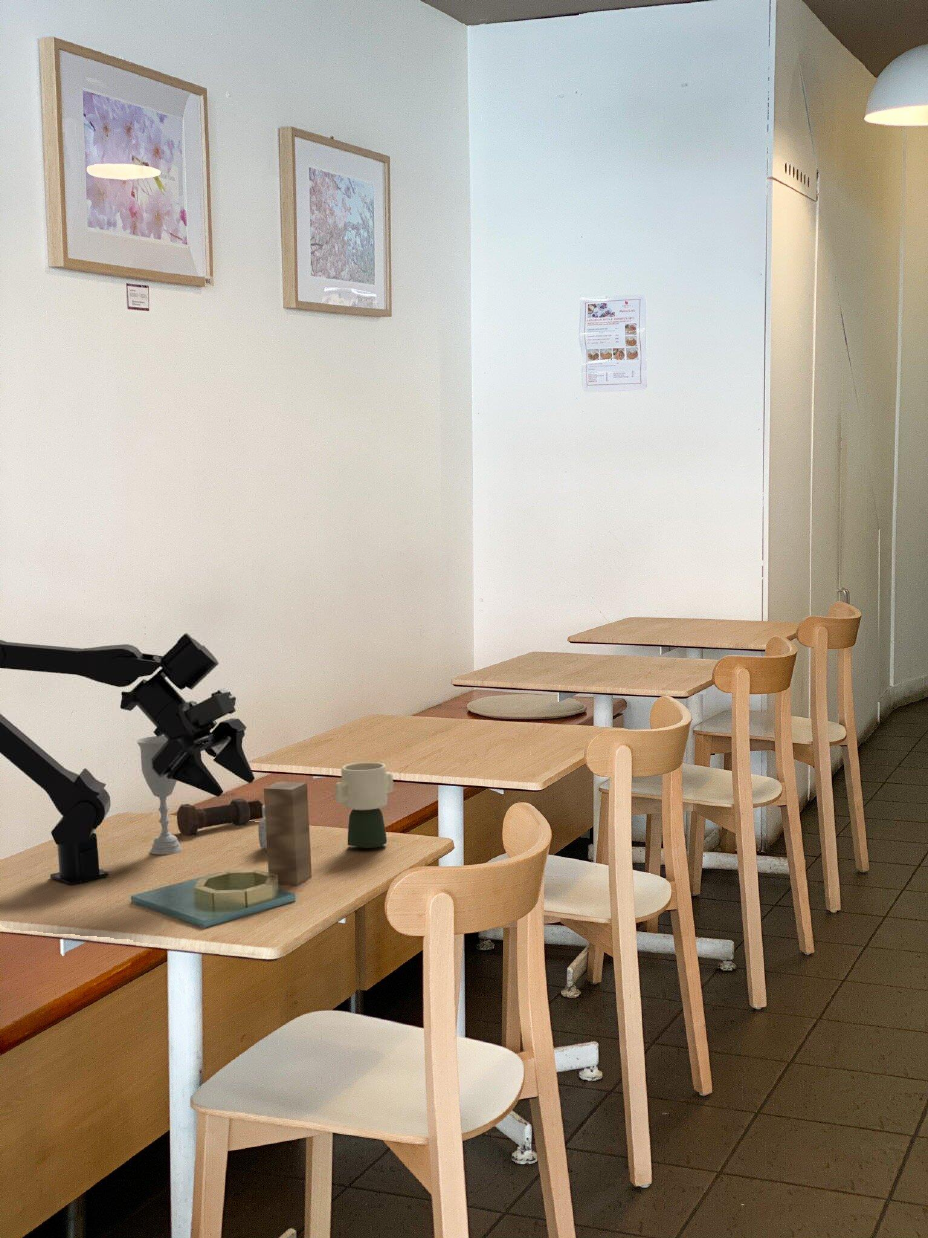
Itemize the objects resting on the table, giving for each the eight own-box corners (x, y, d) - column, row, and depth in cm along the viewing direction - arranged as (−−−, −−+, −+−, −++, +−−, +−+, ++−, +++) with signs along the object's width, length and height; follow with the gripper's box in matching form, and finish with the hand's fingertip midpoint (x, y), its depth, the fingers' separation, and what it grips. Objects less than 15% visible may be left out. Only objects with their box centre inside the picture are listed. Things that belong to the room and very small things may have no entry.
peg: (268, 883, 201) (263, 788, 200) (283, 874, 205) (278, 781, 204) (297, 885, 200) (292, 789, 198) (311, 876, 204) (306, 782, 202)
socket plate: (131, 902, 194) (129, 881, 194) (220, 878, 205) (219, 858, 204) (204, 928, 181) (202, 905, 181) (295, 900, 192) (294, 879, 192)
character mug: (381, 836, 225) (378, 758, 224) (408, 844, 220) (404, 763, 219) (326, 850, 219) (321, 768, 217) (352, 858, 213) (347, 774, 212)
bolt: (265, 831, 241) (185, 844, 232) (252, 812, 244) (173, 825, 235) (272, 805, 238) (192, 817, 229) (259, 786, 241) (180, 798, 232)
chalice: (197, 847, 223) (191, 737, 222) (167, 858, 218) (160, 744, 216) (164, 843, 227) (157, 734, 226) (134, 853, 222) (126, 741, 220)
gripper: (164, 683, 196) (237, 763, 193) (232, 665, 213) (299, 739, 210) (120, 736, 199) (191, 816, 196) (190, 715, 216) (256, 788, 214)
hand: (237, 787), depth 204 cm, fingers open, 9 cm apart
